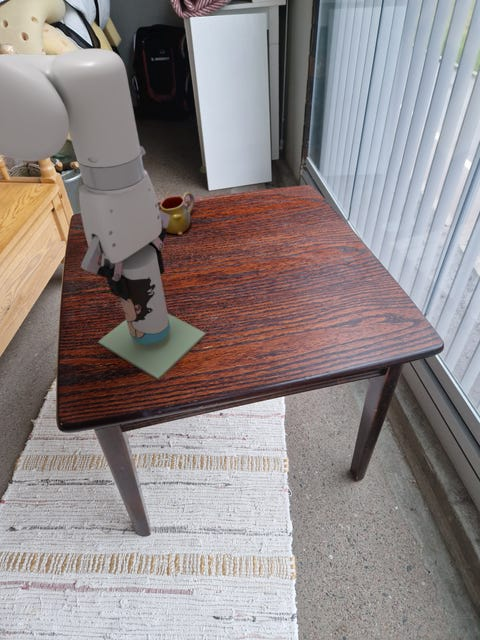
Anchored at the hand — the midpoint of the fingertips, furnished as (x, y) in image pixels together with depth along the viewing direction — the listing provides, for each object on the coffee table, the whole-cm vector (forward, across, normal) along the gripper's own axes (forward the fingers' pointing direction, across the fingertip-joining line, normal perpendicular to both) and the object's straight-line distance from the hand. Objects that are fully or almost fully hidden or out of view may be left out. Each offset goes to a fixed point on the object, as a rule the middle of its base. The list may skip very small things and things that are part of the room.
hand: (139, 282), depth 64 cm
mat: (+13, 0, 0) cm, 13 cm away
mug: (+13, -32, -21) cm, 40 cm away
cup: (+10, 0, 0) cm, 10 cm away
